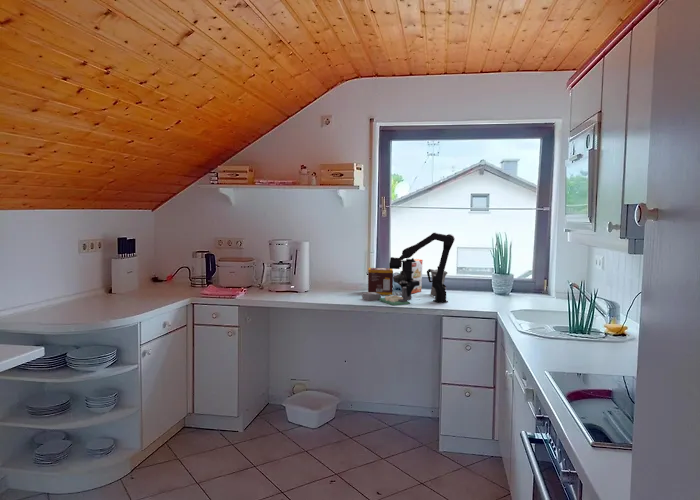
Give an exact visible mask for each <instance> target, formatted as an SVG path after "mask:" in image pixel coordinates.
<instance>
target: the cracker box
mask: <svg viewBox="0 0 700 500" xmlns="http://www.w3.org/2000/svg"><path fill="white" fill-rule="evenodd" d="M413 259H414V260H415V261H416V262H412V271H413V273H412V278H413V280H417V281H419V282H420V286H415V287H414V289H413V290H412V292H411V295H412V294H417V293H420V292H422V284H423V283H422V281H423V261H424V260H423V259H419V258H418V259H417V258H416V259H415V258H413Z"/></svg>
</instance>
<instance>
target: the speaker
mask: <svg viewBox="0 0 700 500" xmlns="http://www.w3.org/2000/svg"><path fill="white" fill-rule="evenodd" d="M361 297H362V300H364V301H367V302H375V301H379V298H382V295H381V294H379V293H376V292H368V291H367V292H362V294H361Z"/></svg>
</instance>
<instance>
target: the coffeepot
mask: <svg viewBox="0 0 700 500" xmlns="http://www.w3.org/2000/svg"><path fill="white" fill-rule="evenodd" d="M438 267H439V265H438V266H437V269H431V268H429V269H427V271H426V274H427V279H428V282H429V283H432V280H433V275H434V274H435V275H436V274H437V271H438ZM430 275H431V276H430ZM447 275H448V272H447V271H446V270H444V274H443V284H444V285H445V281H446V280H445V279H446V276H447ZM430 296H433V297H435V288H434V287H433V286H432V285H431V289H430Z"/></svg>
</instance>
